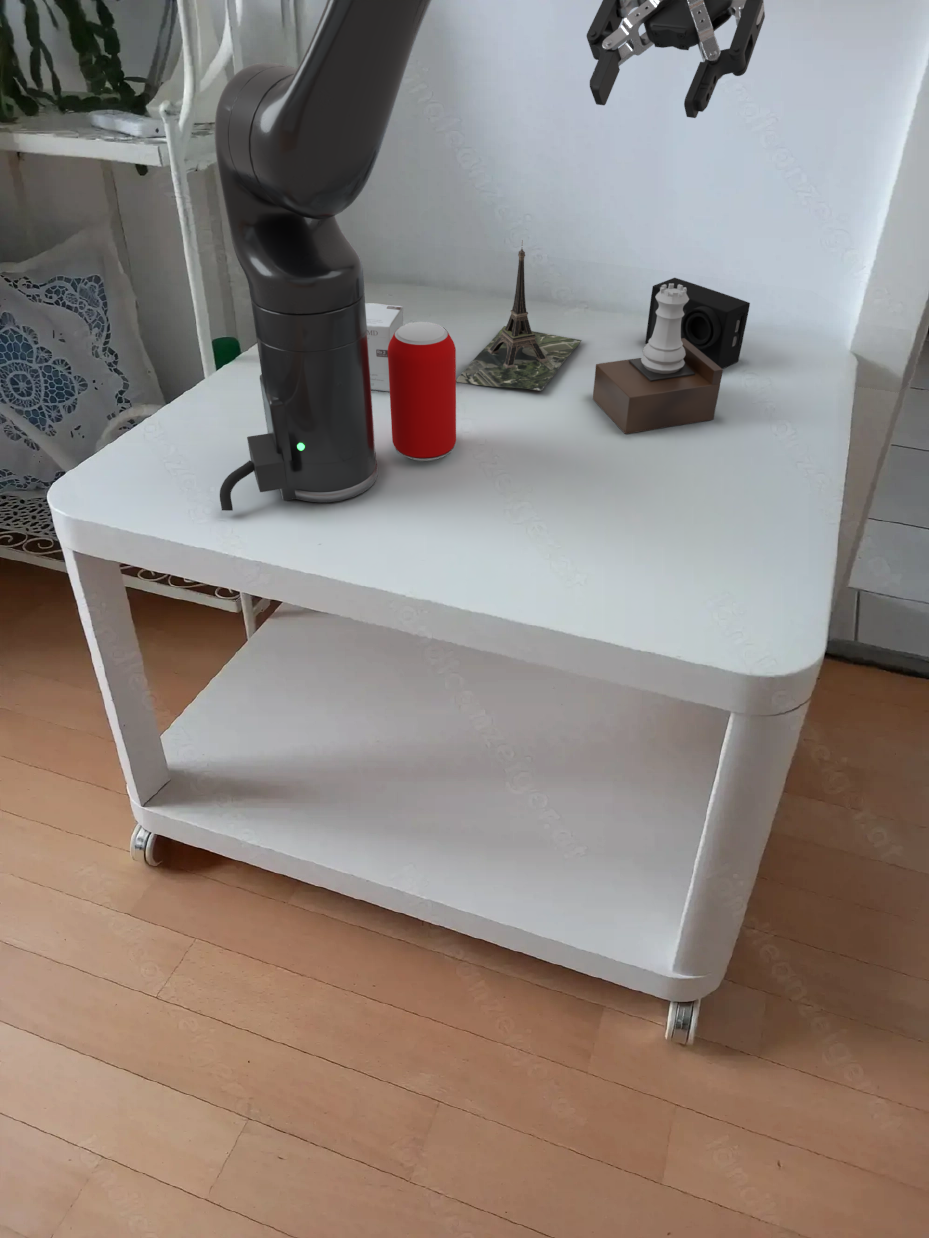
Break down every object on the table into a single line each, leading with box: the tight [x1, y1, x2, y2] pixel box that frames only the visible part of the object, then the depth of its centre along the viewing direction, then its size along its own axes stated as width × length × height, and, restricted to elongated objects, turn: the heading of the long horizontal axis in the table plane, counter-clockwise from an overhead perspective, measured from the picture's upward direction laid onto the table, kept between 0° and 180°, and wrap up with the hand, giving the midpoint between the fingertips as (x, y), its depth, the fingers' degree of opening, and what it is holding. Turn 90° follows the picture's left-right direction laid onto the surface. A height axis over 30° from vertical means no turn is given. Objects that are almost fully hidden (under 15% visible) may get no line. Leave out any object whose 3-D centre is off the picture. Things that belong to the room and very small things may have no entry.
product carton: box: [365, 302, 404, 392], centre depth 101 cm, size 6×6×7 cm
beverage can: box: [388, 321, 457, 462], centre depth 87 cm, size 6×6×12 cm
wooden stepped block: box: [592, 338, 724, 435], centre depth 96 cm, size 10×8×6 cm
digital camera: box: [644, 277, 751, 370], centre depth 106 cm, size 10×5×7 cm, turn 42°
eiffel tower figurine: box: [456, 239, 583, 391], centre depth 102 cm, size 15×10×13 cm
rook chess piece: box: [640, 284, 689, 374], centre depth 94 cm, size 4×4×8 cm
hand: (642, 105), depth 80 cm, fingers open, 8 cm apart
